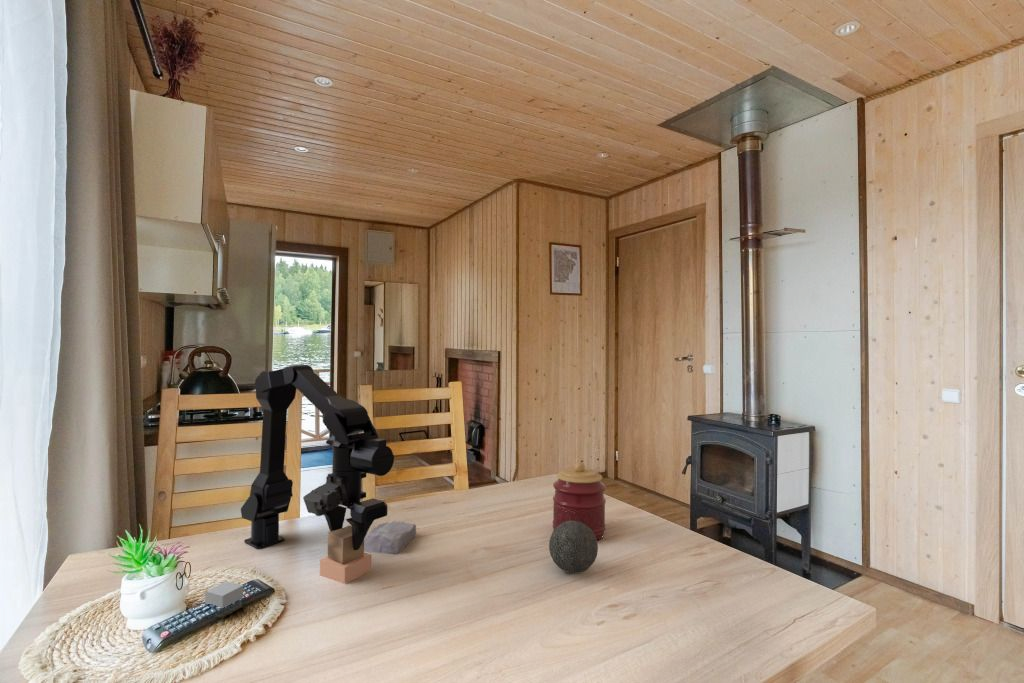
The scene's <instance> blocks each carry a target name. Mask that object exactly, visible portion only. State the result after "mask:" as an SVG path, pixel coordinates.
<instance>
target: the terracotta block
mask: <svg viewBox="0 0 1024 683" xmlns="http://www.w3.org/2000/svg"><path fill="white" fill-rule="evenodd" d="M370 571H372V554H371V553H368V552H366V551H364V556H363V557H361V558H358V559H355V560H353V561H350V562H347V563H345V564H340V563H338V562H336V561H334V560H332V559H330V558H328V555H326V556H325V557H322V558H320V559H319V576H321V577H324V578H326V579H329V580H331V581H332V580H333V581H335V582H338V583H339V584H344V585H346V584H347V583H349V582H352V581H353V580H355V579H357V578H359V577H360V576H362V575H364V574H366V573H368V572H370Z"/></svg>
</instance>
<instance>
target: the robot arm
mask: <svg viewBox="0 0 1024 683" xmlns="http://www.w3.org/2000/svg"><path fill="white" fill-rule="evenodd" d="M254 387H255V396H256V400H257V401H258V403H259V405H260V406H261V408H262V426H261V428H262V429H261V448H260V462H259V463H260V465H259V473H258V475H256V477H255V479H254V480H253V482H252V483H251V486H250V490H249V491H250V492H249V497H247V499H246V500H245V502H244V503H243V505H242V506H241V508H240V514H241V517H242V518H241V519H243V520H246V521H250V522H251V524H250V525H251V526H250V537H249V538H246V539H244V540H243V541H244V543H245V544H247V545H250V546H252V547H253V548H256V549H261V548H265V547H268V546H271V545H274V544H277V543H281V542H283V541H285V540H286V538H285V537H284V536H282V535H279V534H280V532H279V531H280V514H282V513H287V512H288V511H289V507H290V503H291V498H293V497H294V496H293V484H294V482H293V479H291V478H289V477H288V476H287V474H286V472H285V456H286V454H285V453H286V439H287V438H286V436H287V433H286V432H287V417H288V409H289V408H290V406H291V405H292V404H293V402H294V400H295V399H296V395H297V390H298V391H299V392H300V394H302V395H303V396H304V398H306V399H307V400H308V401H309V402H310V403H311V404H312V405H313V406H315V408H316V409H317V410H318V411H319V412H320V413H321V414H322V423H323V425H324V426H325V427H326V429H327V430H328V431H329V433H330V434H331V437H329V438H328V439H327V440H326V441H325V444H326V445H329V446H332V466H331V467H332V471H331V473H328V474H327V476H326V478H325V480H326V481H325V483H324V484H321V485H319V486H318V487H316V488H314V489H312V490H310V492H308V493H306V494H305V495H304V496H303V502H304V503H305V504H304V505H305V508H306V510H307V512H308V513H309V514H314V515H315V516H317V517H321V516H324V517H325V520H326V524H327V527H328V529H329V532H331V531H334V530H338V529H341V528H344V527H343V526H344V523H345V522H344V521H346V522H347V523H348V524H349V526H352V541H353V549H354V550H355V551H356V550H358V549H359V548H360V546H361V544H362V542H363V540H364V538H365V536H366V535H368V534H367V533H369V529H370V528H371V526H372V524H373V523H374V521H375V520H379V519H381V518H384V517H387V516H388V508H389V507H388V506H389V505H388V504H387V503H386V501H383V500H380V499H376V498H374V497H372V498H370V499H366V500H362V499H365V498H367V492H365V491H362V490H363V485H362V484H363V479H366V478H367V474H369V475H372V476H373V475H374V476H377V477H383V476H385V475H388V473H390V471H391V470H392V468H393V465H394V462H395V455H394V452H393V450H392V449H391V448H390V446H388V445H387V440H386V439H385V438H380V439H379V435H378V433H377V429H376V428H375V426H374V424H373V422H372V420H371V418H370V415H369V414H368V413H369V412H368V410H367V408H365V407H364V406H363V405H361V404H360V403H358V402H357V401H355V400H352V399H348V398H346V397H343V396H342V395H340V394H339V393H337V392H336V391H335V390H334V389H333V388H332V387H331V386H330V384H329V385H328V383H327V382H325V381H324V380H323V379H322V378H321V377H320V376H319V375H318V374H317V373H315V371H314V369H313V367H312V366H310V365H307V364H291V365H289V366H286V367H283V368H281V369H277V370H270V371H269V370H266V371H261V372H260V374H259V375H257V376H256V379H255V382H254ZM361 500H362V501H361ZM347 509H348V510H350V514H349V515H350V517H349V518H346V519H345V517H346V512H347Z"/></svg>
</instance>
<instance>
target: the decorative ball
mask: <svg viewBox="0 0 1024 683" xmlns="http://www.w3.org/2000/svg"><path fill="white" fill-rule="evenodd" d="M548 542H549V544H548V549H549V554H550V557H551V559H552V561H553V563H554V564H555V565H556V566H557V567H558V568H560V569H561V570H562V571H564V572H566V573H570V574H579V573H582V572H584V571H587V570H588V569H589V568H590V567H592V565H593V564H594V562H595V561H596V558H597V556H598V551H599V546H598V545H599V544H598V540H597V539H596V537H595V534H594V533H593V531H592V530H591V529H590V528H589V527H588V526H587V525H585V524H583V523H581V522H578V521H566V522H564V523H562V524H560V525H559V526H557V527H556V528H555V530H552V532H551V535H550V537H549V541H548Z"/></svg>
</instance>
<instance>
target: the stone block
mask: <svg viewBox="0 0 1024 683" xmlns="http://www.w3.org/2000/svg"><path fill="white" fill-rule="evenodd" d="M416 533H417V525H416V523H410V522H405V521H400V520H399V521H397V520H394V521H390V522H388V521H387V522H382V523H381V524H378V525H377V526H376V527H374V528H372V529H371V530H370V531H369V532H368V534H366V536H365V538H364V552H367V553H368V552H369V553H376V554H378V553H380V554H381V553H382V554H393V555H395V554H399V553H400V552H401V551H402V550H403V549H404V548H405V547H406V546H407V545H408V544H409V543H410V542H411V541H412V540H413V539H414V538H415V537H416ZM410 540H411V541H410Z"/></svg>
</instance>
